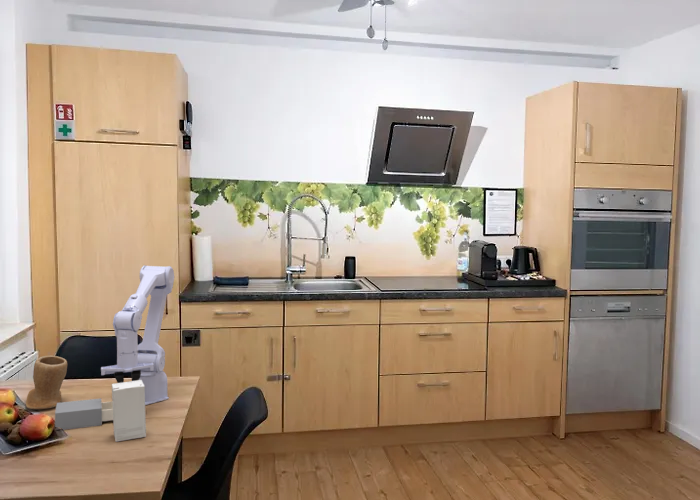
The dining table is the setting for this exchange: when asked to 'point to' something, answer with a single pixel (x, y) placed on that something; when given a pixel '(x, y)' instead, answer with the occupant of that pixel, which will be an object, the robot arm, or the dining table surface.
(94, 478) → the dining table surface
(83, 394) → the dining table surface
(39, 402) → the stone cup
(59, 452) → the dining table surface
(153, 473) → the dining table surface
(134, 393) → the skincare box
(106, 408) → the white pull-out drawer
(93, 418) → the carton
